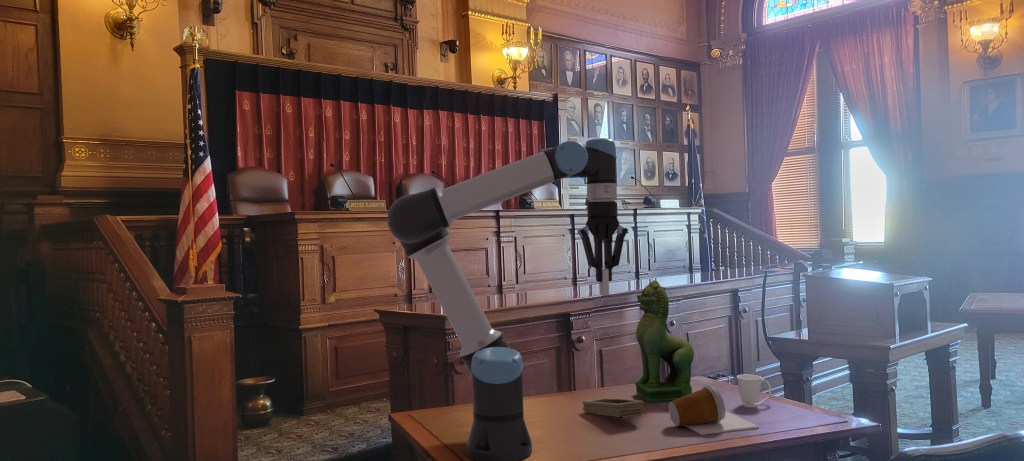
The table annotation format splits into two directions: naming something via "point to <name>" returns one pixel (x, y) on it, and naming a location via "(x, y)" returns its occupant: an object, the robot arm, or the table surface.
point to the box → (614, 407)
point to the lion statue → (661, 350)
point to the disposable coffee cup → (698, 407)
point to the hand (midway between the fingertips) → (604, 294)
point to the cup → (751, 389)
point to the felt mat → (723, 425)
